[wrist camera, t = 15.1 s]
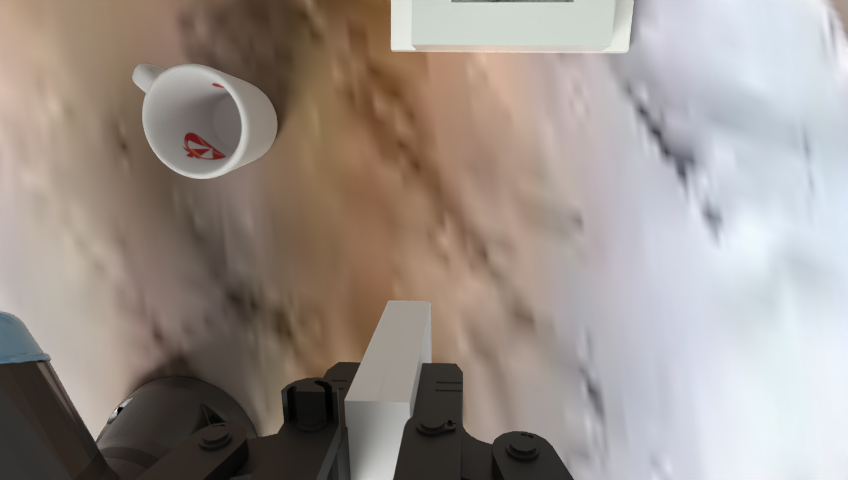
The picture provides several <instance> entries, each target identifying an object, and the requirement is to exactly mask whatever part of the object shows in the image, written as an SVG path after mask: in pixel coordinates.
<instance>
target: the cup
mask: <svg viewBox="0 0 848 480" xmlns="http://www.w3.org/2000/svg"><path fill="white" fill-rule="evenodd" d="M132 78H133V81H134V83H135V84H136V85H137V86H138V87H139V88H140V89H142V90H143V91H144V92H146V95H145V98H144V102H143V109H142V121H143V127H144V132H145V135H146V138H147V140H148V142H149V145H150V146H151V148H152V150H153V151H154V153H155V154H156V155H157V157H158V158H159V159H160V160H161V161H162V162H163V163H164V164H165V165H167V166H168V167H169V168H171V169H172V170H174V171H175V172H177V173H179V174H182V175H184V176H187V177H191V178H196V179H209V178H214V177H218V176H221V175H224V174H226V173H228V172H230V171H232V170H235V169H237V168H239V167H241V166H244V165H246V164H248V163H250V162H252V161H255V160H257V159H258V158H260V157H261V156H263V155H264V154H265V153H266V152H267V151H268V150H269V149H270V147H271V146H272V144H273V142H274V140H275V137H276V133H277V116H276V112H275V110H274V107H273V105H272V103H271V102H270V100H269V99H268V97H267V96H266V95H265V94H264V93H263V92H262V91H261V90H260V89H258V88H257V87H256V86H254V85H252V84H250V83H248V82H246V81H244V80H241V79H239V78H236V77H234V76H231V75H229V74H226V73H224V72H221V71H219V70H216V69H214V68H211V67H208V66H205V65H200V64H181V65H177V66H174V67H171V68H169V69H164V68H162V67H159V66H156V65H152V64H147V63H141V64H139V65H138V66H137V67H136V68H135V70H134V73H133V76H132Z"/></svg>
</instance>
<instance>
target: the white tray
mask: <svg viewBox="0 0 848 480" xmlns="http://www.w3.org/2000/svg"><path fill="white" fill-rule="evenodd" d="M633 4H634V0H501V1H499V2H489V0H391V50H392V51H393V52H519V53H626V52H628V49H629V40H630V31H631V22H632V13H633Z"/></svg>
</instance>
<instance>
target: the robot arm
mask: <svg viewBox="0 0 848 480" xmlns="http://www.w3.org/2000/svg"><path fill="white" fill-rule="evenodd" d="M50 360H51V358H50V356H49V355H48V354H46V353H44V352H43V351H42V349H41V348H40V347H39V345H38V344H37V342H36V341H35V339H34V338H33V337H32V335H31V333H30V332H29V330H28V329H27V327H26V326H25V324H24V323H23V322H22V321H21V320H20V319H19V318H18V317H16V316H15V315H12V314H10V313H7V312H2V311H0V480H574V479H573V478H572V476H571V474H570V473H569V471H568V470H567V468H566V467H565V465H564V464H563V462H562V460H561V459H560V457H559V456H558V454H557V453H556V451H555V450H554V448H553V446H552V445H551V444H550V443H549V442H548V441H547V440H546V439H544V438H542V437H540V436H538V435H536V434H532V433H528V432H523V431H512V432H508V433H504V434H502V435H500V436H499V437H497V438H496V439H495V440H494V442H493V444H489V443H485V442H482V441H479V440H477V439H475V438H474V437H472V436H470V435H469V434H468V433H467V432H466V431H465V429H464V427H463V372H462V371H461V370H460V368H459V367H458V366H457V364H448V363H431V301H388V303H387V305H386V307H385V310H384V312H383V314H382V316H381V319H380V321H379V323H378V325H377V328H376V330H375V332H374V334H373V337H372V339H371V341H370V344H369V346H368V348H367V350H366V353H365V355H364V357H363V359H362V362H361V363H355V362H338V363H337V364H335V365H334V366H333V367H331V368H330V369H328V370H327V372H326V374H325V375H324V377H323V378H318V377H316V378H305V379H301V380H298V381H295V382H293V383H291V384H289V385H287V386H286V387H285V388H284V389H283V390H282V391H281V392H282V403H283V415H284V424H283V425H282V427H281V428H280V430H279V432H278V433H277V434H274V435H269V436H265V437H259V438H257V435H256V432H255V430H254V427H253V425H252V423H251V421H250V420H249V418H248V416H247V415H246V413H245V412H244V411H243V409H242V408H241V407H240V406H239V405H238V404H237V403H236V402H235V401H234V400H233V399H232V398H231V397H230V396H228V395H227V394H226V393H224V392H223V391H221V390H220V389H218V388H216V387H214V386H212V385H210V384H208V383H206V382H203V381H200V380H197V379H193V378H188V377H176V376H175V377H164V378H159V379H155V380H153V381H150V382H148V383H146V384H144V385H142V386H141V387H139V388H138V389H137V390H136V391H134V392H133V393H132V394H131V395H129V396H128V397H127V398H126V399H124V400H123V401H122V402H121V403H120V404H119V405H118V406H117V408H116V409H115V410H114V412H113V413H112V415H111V416H110V418H109V420H108V422H107V424H106V426H105V427H104V428H103V430H102V431H101V433H100V435H99V436H98V438H97V440H96V442H95V441H94V439H93V437H92V436H91V434H90V432H89V430H88V429H87V427H86V425H85V424H84V422H83V420H82V418H81V417H80V415H79V413H78V412H77V410H76V408H75V406H74V405H73V403H72V401H71V400H70V398H69V396H68V394H67V392H66V390H65V389H64V387H63V385H62V383H61V381H60V380H59V378H58V376H57V374H56V372H55V371H54V369H53V367H52V365H51V363H50V362H49V361H50Z"/></svg>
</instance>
